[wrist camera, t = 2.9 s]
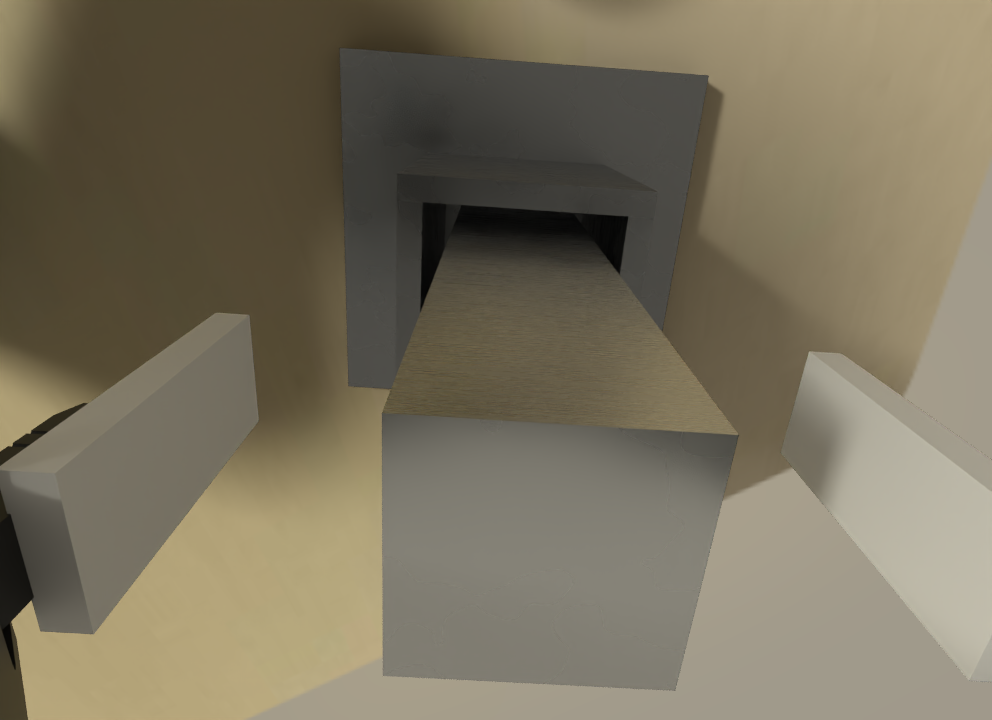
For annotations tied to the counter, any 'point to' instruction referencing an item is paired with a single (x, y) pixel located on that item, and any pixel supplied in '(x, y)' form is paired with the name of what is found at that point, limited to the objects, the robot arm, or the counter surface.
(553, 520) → the column
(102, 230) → the counter surface
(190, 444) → the robot arm
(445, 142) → the stand
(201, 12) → the counter surface
